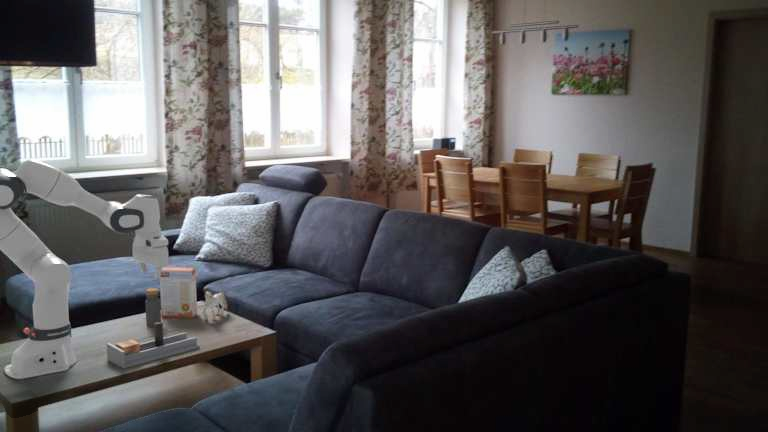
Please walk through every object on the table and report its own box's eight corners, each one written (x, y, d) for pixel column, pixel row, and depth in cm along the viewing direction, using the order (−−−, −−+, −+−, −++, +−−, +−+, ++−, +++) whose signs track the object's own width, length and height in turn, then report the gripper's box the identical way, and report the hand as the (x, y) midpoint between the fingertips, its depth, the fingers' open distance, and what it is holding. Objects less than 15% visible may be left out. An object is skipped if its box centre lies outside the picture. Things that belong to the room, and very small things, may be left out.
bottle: (164, 323, 292) (162, 288, 289) (155, 327, 286) (154, 292, 284) (151, 322, 293) (150, 287, 291) (143, 326, 288) (141, 290, 285)
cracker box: (197, 314, 305) (196, 267, 301) (192, 318, 299) (190, 270, 296) (166, 312, 306) (164, 266, 303) (160, 317, 300) (158, 269, 297)
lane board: (122, 368, 242) (122, 352, 242) (107, 359, 251) (106, 343, 250) (199, 347, 264) (199, 332, 263) (183, 339, 272) (182, 325, 271)
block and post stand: (124, 361, 246) (122, 334, 244) (116, 357, 250) (115, 330, 248) (167, 349, 258) (166, 324, 256) (159, 345, 261) (158, 320, 260)
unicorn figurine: (198, 325, 289) (197, 294, 287) (212, 311, 308) (211, 282, 306) (215, 326, 289) (214, 294, 287) (228, 312, 308) (227, 282, 306)
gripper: (126, 236, 259) (129, 272, 262) (154, 243, 245) (157, 282, 248) (142, 233, 264) (145, 269, 266) (170, 241, 250) (173, 278, 252)
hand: (151, 275), depth 257 cm, fingers open, 8 cm apart
